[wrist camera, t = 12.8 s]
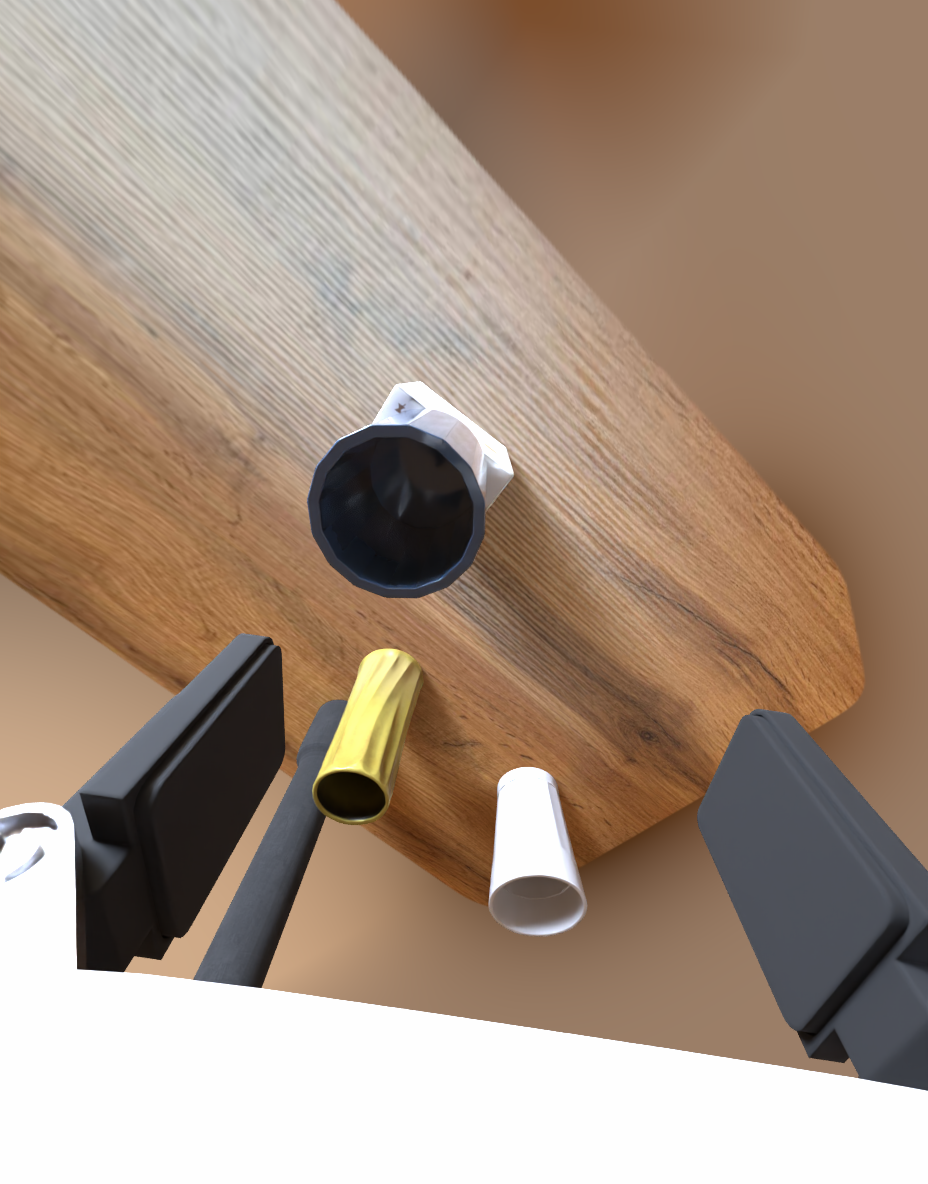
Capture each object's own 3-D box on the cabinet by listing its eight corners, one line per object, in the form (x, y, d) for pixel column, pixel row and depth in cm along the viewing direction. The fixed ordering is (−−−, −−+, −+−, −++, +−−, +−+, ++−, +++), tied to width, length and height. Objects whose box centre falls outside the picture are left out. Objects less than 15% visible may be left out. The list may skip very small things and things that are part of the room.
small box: (379, 444, 36) (339, 469, 26) (421, 379, 34) (393, 380, 24) (465, 507, 37) (456, 552, 28) (509, 448, 35) (516, 476, 26)
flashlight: (337, 746, 48) (377, 728, 47) (209, 1052, 26) (278, 1033, 25) (307, 711, 47) (347, 692, 45) (144, 1006, 25) (214, 984, 24)
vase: (435, 688, 45) (412, 815, 32) (380, 710, 46) (337, 840, 33) (403, 637, 43) (364, 751, 30) (346, 662, 44) (286, 780, 31)
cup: (508, 825, 52) (513, 945, 41) (476, 775, 49) (471, 889, 38) (577, 804, 50) (601, 923, 39) (547, 751, 47) (564, 863, 36)
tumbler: (457, 386, 24) (440, 392, 16) (504, 506, 27) (511, 564, 18) (343, 439, 26) (274, 469, 17) (398, 548, 28) (360, 620, 20)
